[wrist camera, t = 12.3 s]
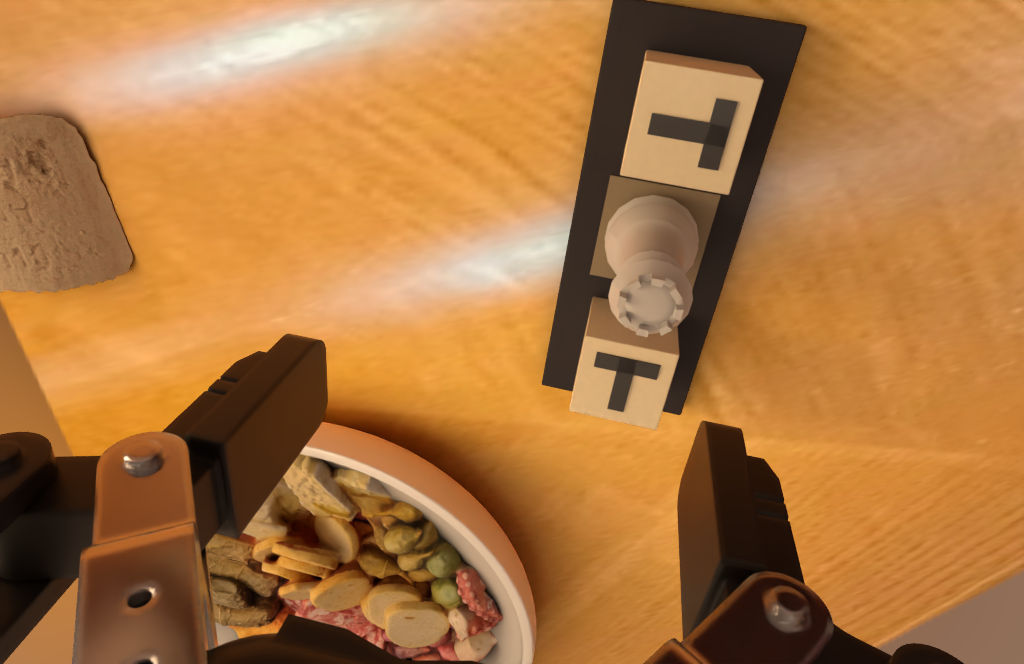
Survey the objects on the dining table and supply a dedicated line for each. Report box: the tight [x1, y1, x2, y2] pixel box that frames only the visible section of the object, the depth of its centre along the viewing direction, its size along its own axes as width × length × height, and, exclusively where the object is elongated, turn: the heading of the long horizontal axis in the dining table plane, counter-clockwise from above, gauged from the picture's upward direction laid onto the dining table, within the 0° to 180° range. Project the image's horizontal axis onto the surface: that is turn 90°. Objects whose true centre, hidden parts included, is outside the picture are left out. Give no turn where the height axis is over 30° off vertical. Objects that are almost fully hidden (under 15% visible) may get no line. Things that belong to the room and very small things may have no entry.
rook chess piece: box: [604, 195, 699, 337], centre depth 28 cm, size 4×4×8 cm
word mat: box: [542, 0, 807, 415], centre depth 32 cm, size 20×8×1 cm, turn 172°
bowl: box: [206, 422, 536, 664], centre depth 46 cm, size 30×30×8 cm
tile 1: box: [569, 297, 679, 430], centre depth 33 cm, size 4×4×4 cm
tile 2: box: [620, 50, 764, 195], centre depth 27 cm, size 4×4×4 cm
